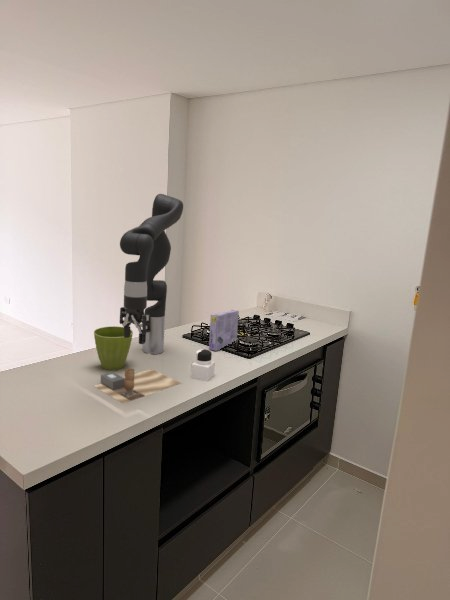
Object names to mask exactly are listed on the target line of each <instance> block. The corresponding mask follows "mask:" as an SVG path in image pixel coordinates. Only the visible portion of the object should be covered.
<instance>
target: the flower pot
mask: <svg viewBox="0 0 450 600" xmlns="http://www.w3.org/2000/svg"><path fill="white" fill-rule="evenodd" d="M133 335H134V331H133V330H132V329H131V328H130V337H128V338H125V337H124V327H123V326H104V327H99V328H96V329H95V330H94V331H93V336H94V343H95V347H96V351H97V355H98V356H97V357H98V360H99V362H100V364H101V365H100V366H101V368H102V369H104V370H109V371H115V370H116V371H117V370H120V369H122V368H124V366H125V364H126V361H127V358H128V356H129V352H130V348H131V346H132V339H133Z"/></svg>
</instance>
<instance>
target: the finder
mask: <svg viewBox="0 0 450 600" xmlns="http://www.w3.org/2000/svg"><path fill="white" fill-rule="evenodd" d="M123 377H124V376H121V375H120V374H119V373H118V374H117V373H116V372H115V371H114V372H113V371H111V372H107V373H103V374H100V384H104V385H105V386H107V387H109V388H110V389H112V390H115V389H118V388H121V387H125V378H123Z"/></svg>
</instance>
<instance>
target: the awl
mask: <svg viewBox="0 0 450 600" xmlns="http://www.w3.org/2000/svg"><path fill="white" fill-rule="evenodd" d="M135 370H136V369H134V368H125V369H124V377H125V389H126V392H125V395H126V396H127V395H129V396H131V395H133V392H132V389H134V374H135Z"/></svg>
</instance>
